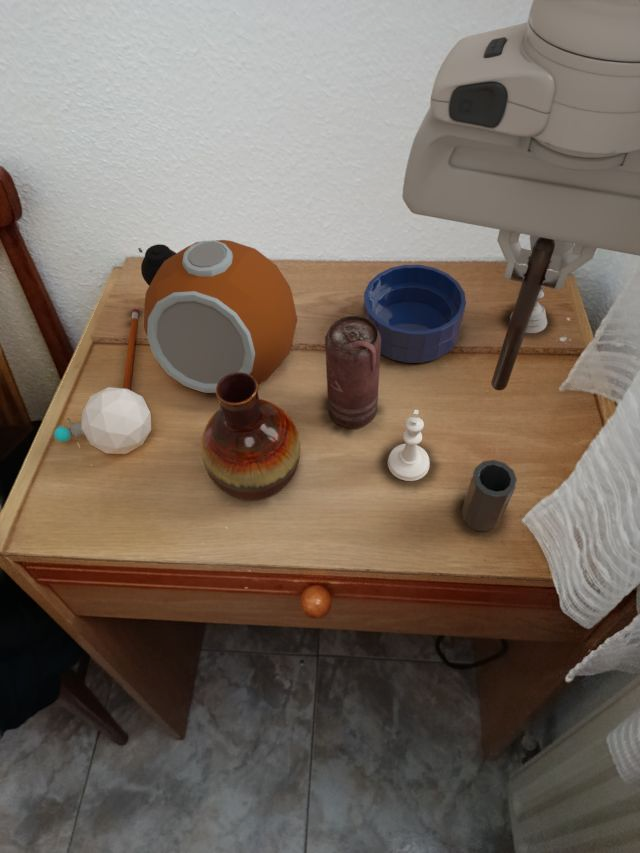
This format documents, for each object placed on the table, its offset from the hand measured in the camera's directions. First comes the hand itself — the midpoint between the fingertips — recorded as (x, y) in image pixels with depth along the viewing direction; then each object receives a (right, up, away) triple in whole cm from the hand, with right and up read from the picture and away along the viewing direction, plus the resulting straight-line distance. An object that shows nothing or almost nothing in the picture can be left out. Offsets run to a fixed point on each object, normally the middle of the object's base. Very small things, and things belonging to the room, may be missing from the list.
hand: (532, 279), depth 44 cm
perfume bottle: (-42, -13, +30) cm, 53 cm away
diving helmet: (-28, -2, +37) cm, 47 cm away
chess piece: (-5, -15, +27) cm, 31 cm away
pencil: (-42, -2, +38) cm, 56 cm away
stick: (0, -7, +10) cm, 13 cm away
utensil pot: (+2, -21, +22) cm, 30 cm away
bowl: (-3, +3, +39) cm, 39 cm away
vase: (-23, -16, +27) cm, 39 cm away
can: (-12, -9, +31) cm, 35 cm away
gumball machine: (-37, +7, +44) cm, 58 cm away
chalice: (+13, +4, +39) cm, 42 cm away
